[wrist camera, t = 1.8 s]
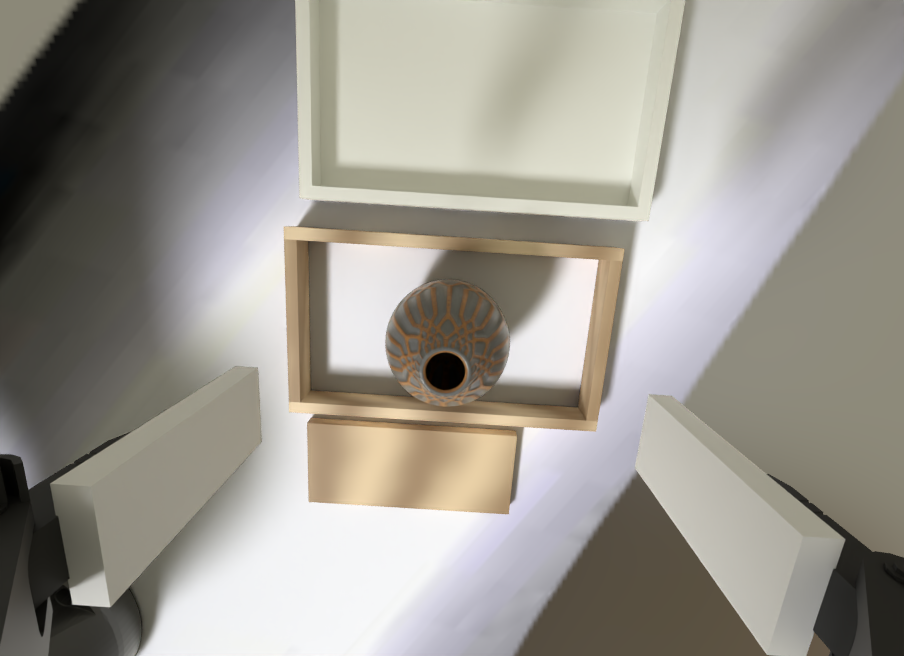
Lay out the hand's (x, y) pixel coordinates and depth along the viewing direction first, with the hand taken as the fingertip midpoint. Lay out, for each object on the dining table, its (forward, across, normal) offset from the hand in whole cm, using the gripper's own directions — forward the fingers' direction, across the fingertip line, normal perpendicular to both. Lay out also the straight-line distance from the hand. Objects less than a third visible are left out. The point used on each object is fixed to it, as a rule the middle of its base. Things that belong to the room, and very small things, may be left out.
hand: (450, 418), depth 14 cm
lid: (+13, -2, -10) cm, 17 cm away
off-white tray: (+14, +1, +13) cm, 19 cm away
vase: (+14, 0, 0) cm, 14 cm away
